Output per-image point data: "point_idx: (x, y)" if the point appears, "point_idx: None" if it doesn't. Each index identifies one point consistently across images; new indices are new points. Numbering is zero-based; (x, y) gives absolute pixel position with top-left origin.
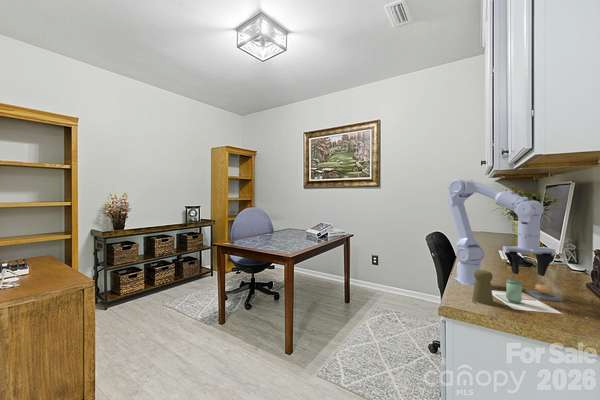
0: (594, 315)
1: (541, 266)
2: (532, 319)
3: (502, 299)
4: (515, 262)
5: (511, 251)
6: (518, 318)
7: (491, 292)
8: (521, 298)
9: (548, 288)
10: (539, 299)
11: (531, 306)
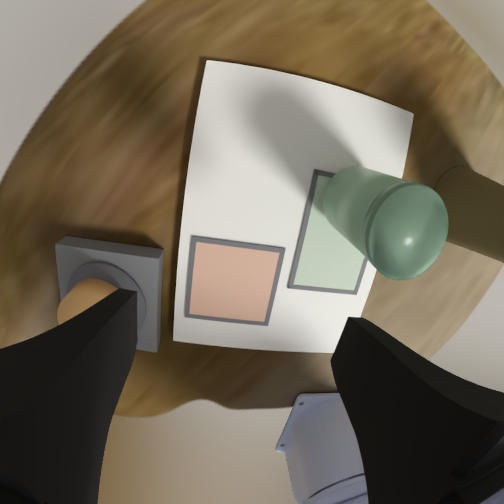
0: (48, 102)
1: (102, 373)
2: (393, 36)
3: None
4: (450, 377)
5: (489, 498)
6: (435, 54)
7: (487, 191)
8: (343, 173)
9: (86, 292)
10: (160, 252)
11: (299, 141)
